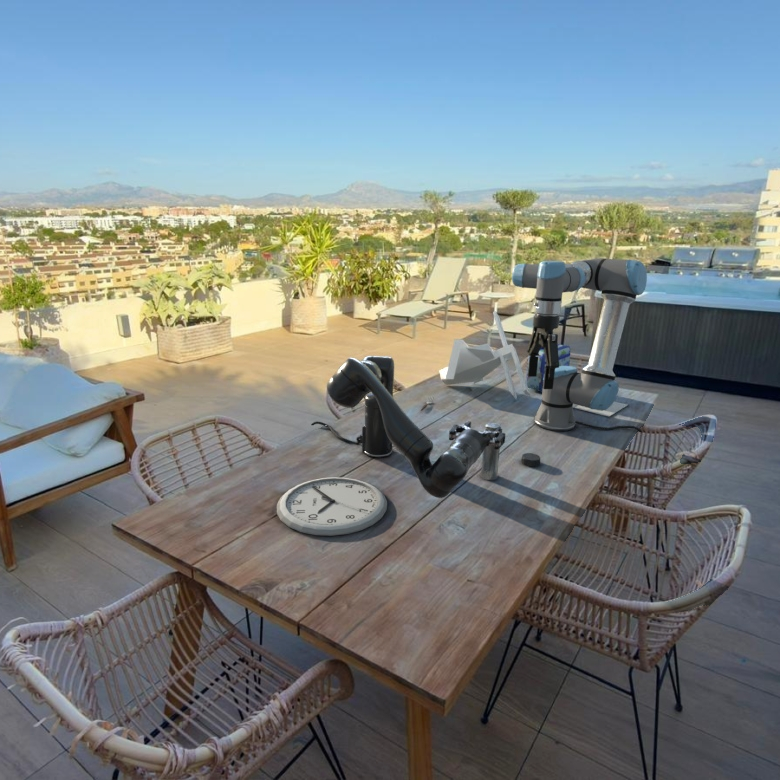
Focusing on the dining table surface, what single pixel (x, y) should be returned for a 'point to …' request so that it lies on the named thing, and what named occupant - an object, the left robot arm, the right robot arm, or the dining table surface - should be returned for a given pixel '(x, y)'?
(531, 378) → the lunch box
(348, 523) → the wall clock
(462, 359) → the white plastic object
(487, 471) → the thermos
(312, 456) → the dining table surface
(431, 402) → the fork
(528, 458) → the lid
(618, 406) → the invitation card
